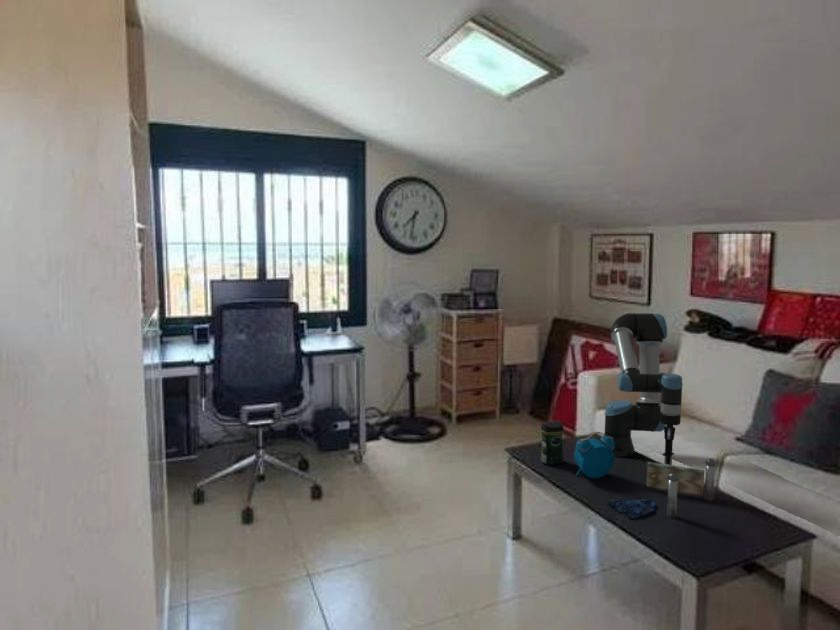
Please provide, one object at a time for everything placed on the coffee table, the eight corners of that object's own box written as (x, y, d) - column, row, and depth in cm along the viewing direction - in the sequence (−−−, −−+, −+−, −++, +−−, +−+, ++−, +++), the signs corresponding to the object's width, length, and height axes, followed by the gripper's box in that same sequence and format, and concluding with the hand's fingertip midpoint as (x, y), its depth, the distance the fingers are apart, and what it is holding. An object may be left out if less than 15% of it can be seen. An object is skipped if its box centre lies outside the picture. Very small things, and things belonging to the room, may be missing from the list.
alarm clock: (603, 469, 247) (605, 424, 245) (617, 479, 237) (619, 432, 235) (568, 473, 243) (569, 428, 240) (580, 483, 233) (582, 435, 231)
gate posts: (706, 496, 221) (709, 456, 219) (715, 499, 218) (717, 459, 216) (664, 515, 206) (666, 472, 204) (673, 519, 203) (675, 475, 201)
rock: (603, 503, 216) (603, 498, 216) (642, 498, 221) (643, 493, 220) (627, 522, 202) (627, 516, 202) (668, 516, 207) (669, 511, 206)
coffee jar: (556, 457, 261) (557, 417, 259) (565, 464, 254) (566, 423, 251) (537, 460, 259) (538, 419, 256) (545, 466, 251) (546, 425, 249)
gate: (702, 493, 220) (704, 470, 219) (702, 497, 217) (704, 473, 216) (646, 484, 229) (647, 461, 228) (646, 487, 226) (647, 464, 225)
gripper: (661, 408, 236) (658, 464, 239) (659, 416, 224) (656, 474, 227) (681, 410, 233) (678, 466, 235) (680, 418, 221) (677, 478, 224)
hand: (667, 470), depth 231 cm, fingers closed
